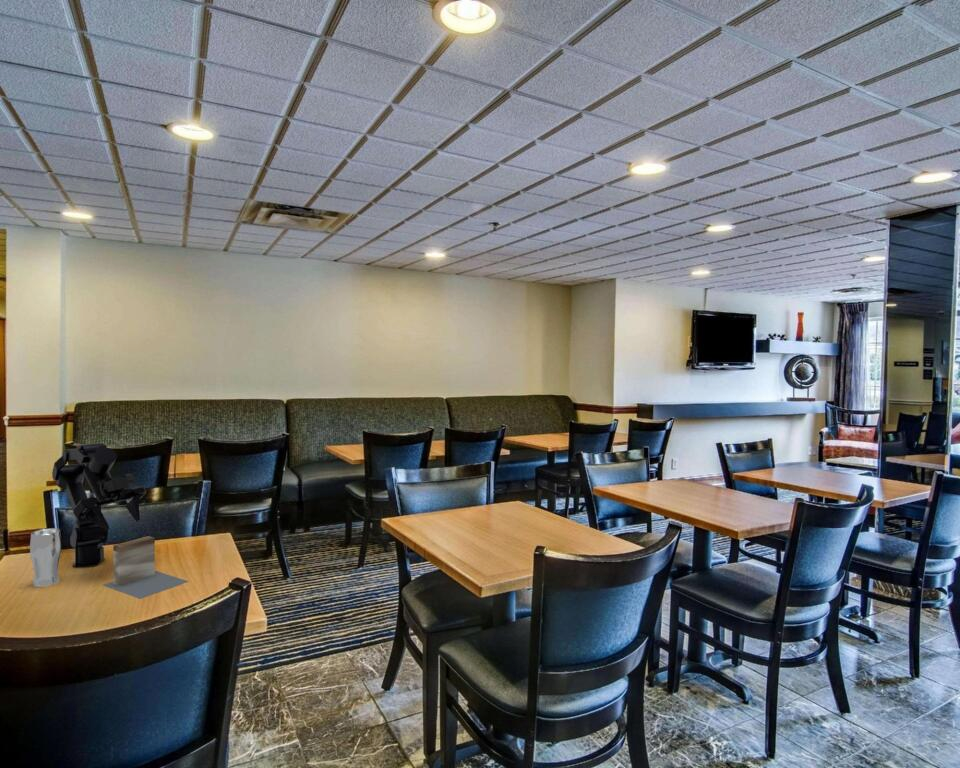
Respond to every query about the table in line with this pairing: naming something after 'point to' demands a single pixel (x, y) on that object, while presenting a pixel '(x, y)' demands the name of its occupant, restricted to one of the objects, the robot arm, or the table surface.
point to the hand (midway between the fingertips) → (123, 525)
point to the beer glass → (45, 556)
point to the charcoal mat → (148, 585)
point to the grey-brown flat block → (134, 560)
